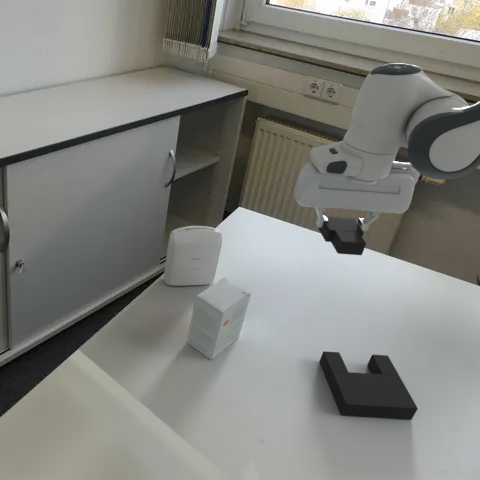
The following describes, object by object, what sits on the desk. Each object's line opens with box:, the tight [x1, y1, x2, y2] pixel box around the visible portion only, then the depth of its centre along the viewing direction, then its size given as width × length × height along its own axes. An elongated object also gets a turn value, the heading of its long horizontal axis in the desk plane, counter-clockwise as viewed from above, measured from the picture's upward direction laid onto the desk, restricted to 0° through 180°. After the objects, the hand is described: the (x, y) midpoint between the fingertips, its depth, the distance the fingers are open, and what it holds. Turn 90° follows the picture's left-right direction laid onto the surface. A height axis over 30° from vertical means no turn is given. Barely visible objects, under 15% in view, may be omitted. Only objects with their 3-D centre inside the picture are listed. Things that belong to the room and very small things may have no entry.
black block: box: [317, 215, 367, 256], centre depth 100 cm, size 9×6×3 cm
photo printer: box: [162, 225, 223, 287], centre depth 104 cm, size 10×4×12 cm, turn 99°
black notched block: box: [318, 350, 418, 421], centre depth 86 cm, size 11×11×3 cm
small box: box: [186, 277, 252, 361], centre depth 90 cm, size 8×6×10 cm
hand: (340, 227), depth 101 cm, fingers closed on black block, 6 cm apart
